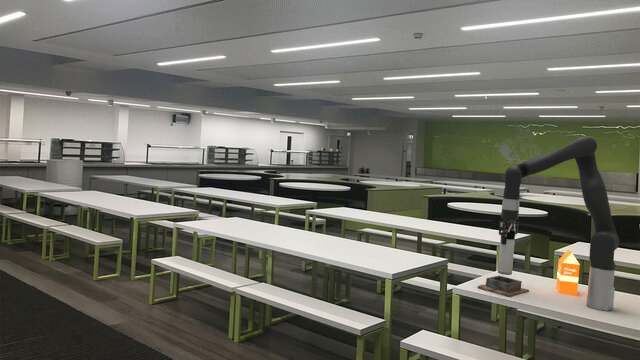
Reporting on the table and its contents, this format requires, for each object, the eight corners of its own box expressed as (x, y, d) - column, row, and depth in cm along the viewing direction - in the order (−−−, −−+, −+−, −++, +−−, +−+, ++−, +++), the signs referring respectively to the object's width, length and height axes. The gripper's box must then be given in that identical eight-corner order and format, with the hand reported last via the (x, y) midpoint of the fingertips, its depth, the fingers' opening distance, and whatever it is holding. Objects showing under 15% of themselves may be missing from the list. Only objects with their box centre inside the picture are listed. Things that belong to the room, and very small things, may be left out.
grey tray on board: (528, 291, 221) (529, 281, 221) (509, 297, 210) (510, 286, 209) (497, 283, 233) (498, 273, 233) (477, 288, 222) (478, 277, 222)
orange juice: (559, 292, 223) (562, 251, 222) (555, 288, 232) (559, 248, 231) (577, 295, 221) (581, 253, 220) (573, 290, 229) (577, 250, 228)
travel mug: (515, 274, 219) (519, 232, 219) (504, 275, 217) (508, 232, 216) (505, 271, 225) (509, 230, 224) (494, 272, 223) (498, 230, 222)
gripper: (510, 210, 212) (506, 246, 213) (525, 209, 221) (522, 244, 222) (494, 208, 218) (491, 243, 219) (510, 207, 227) (507, 241, 228)
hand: (507, 243), depth 220 cm, fingers closed on travel mug, 6 cm apart
